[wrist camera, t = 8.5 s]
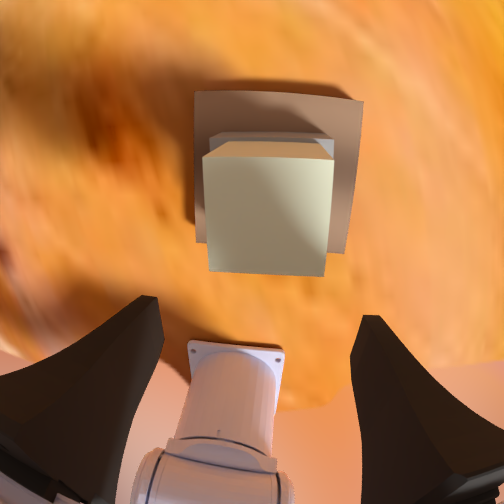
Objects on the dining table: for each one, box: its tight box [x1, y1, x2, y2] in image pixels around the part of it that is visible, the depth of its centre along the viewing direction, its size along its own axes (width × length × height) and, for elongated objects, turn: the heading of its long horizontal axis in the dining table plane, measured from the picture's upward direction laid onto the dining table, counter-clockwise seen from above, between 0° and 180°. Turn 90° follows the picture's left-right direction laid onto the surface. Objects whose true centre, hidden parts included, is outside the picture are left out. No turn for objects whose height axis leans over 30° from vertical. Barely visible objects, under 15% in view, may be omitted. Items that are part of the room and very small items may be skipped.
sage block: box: [202, 141, 334, 277], centre depth 12 cm, size 4×4×4 cm
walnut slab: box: [194, 91, 364, 254], centre depth 18 cm, size 9×9×2 cm
